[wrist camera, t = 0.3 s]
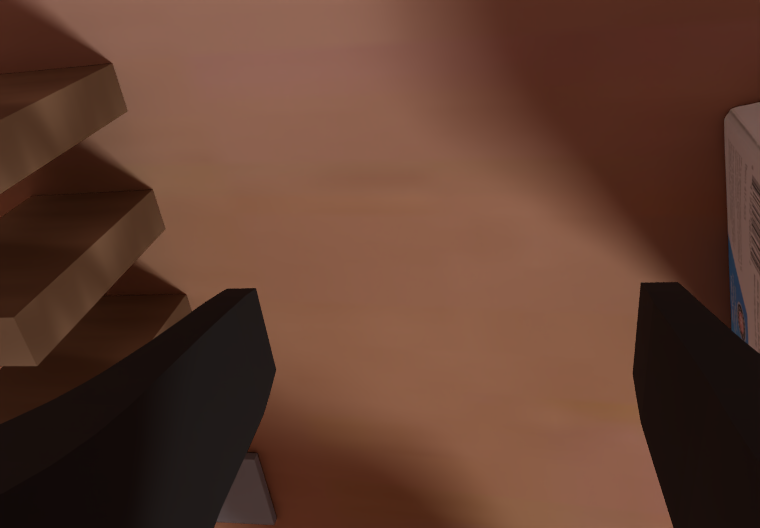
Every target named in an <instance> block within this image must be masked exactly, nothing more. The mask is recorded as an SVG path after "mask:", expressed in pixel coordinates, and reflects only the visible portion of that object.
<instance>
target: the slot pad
mask: <svg viewBox="0 0 760 528" xmlns="http://www.w3.org/2000/svg"><path fill="white" fill-rule="evenodd" d="M276 519H277V517H276V514H275V511H274V508H273V504H272V501H271V498H270V494H269V491H268V488H267V484H266V481H265V478H264V474H263V471H262V468H261V464H260V461H259V458H258V454H257V453H246V455H245V458H244V460H243V462H242V464H241V467H240V469H239V471H238V473H237V475H236V478H235V480H234V482H233V484H232V486H231V489H230V491H229V493H228V495H227V498H226V500H225V502H224V504H223V506H222V509H221V511H220V514H219V516H218V519H217V521H216V522H226V523H244V524H263V525H275V522H276Z"/></svg>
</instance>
